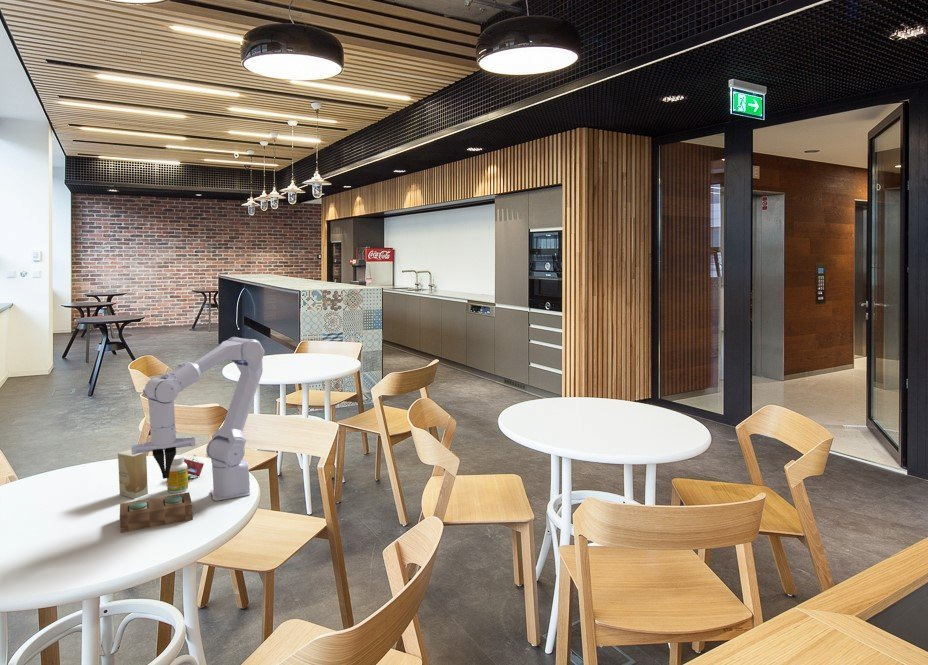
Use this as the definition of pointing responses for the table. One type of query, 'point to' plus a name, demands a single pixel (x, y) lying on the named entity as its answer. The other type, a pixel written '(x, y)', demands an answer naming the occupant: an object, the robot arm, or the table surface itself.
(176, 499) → the peg
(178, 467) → the supplement bottle
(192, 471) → the geometric puzzle
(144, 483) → the skincare box
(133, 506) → the peg
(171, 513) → the walnut block
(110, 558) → the table surface
